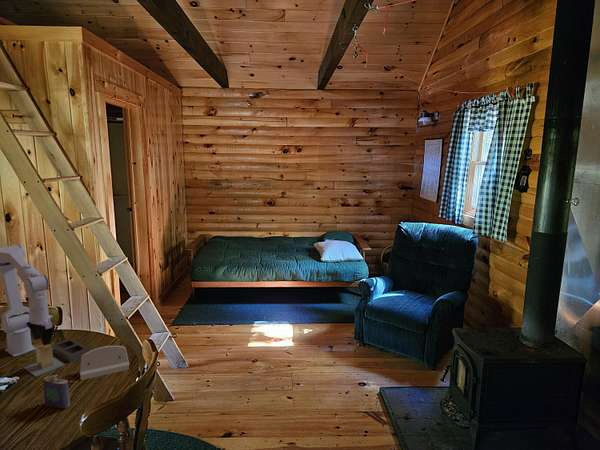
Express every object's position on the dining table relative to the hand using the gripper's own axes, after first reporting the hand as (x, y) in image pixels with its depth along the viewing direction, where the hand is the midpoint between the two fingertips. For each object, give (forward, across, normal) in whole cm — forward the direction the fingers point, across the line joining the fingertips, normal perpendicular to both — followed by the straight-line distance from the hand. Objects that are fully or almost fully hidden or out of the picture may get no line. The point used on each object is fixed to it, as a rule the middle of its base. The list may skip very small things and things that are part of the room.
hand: (42, 341), depth 144 cm
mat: (+10, 0, 0) cm, 10 cm away
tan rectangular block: (+10, 0, 0) cm, 10 cm away
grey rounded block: (+11, -20, -12) cm, 26 cm away
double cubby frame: (+10, +4, -11) cm, 16 cm away
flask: (+11, -29, +8) cm, 32 cm away
